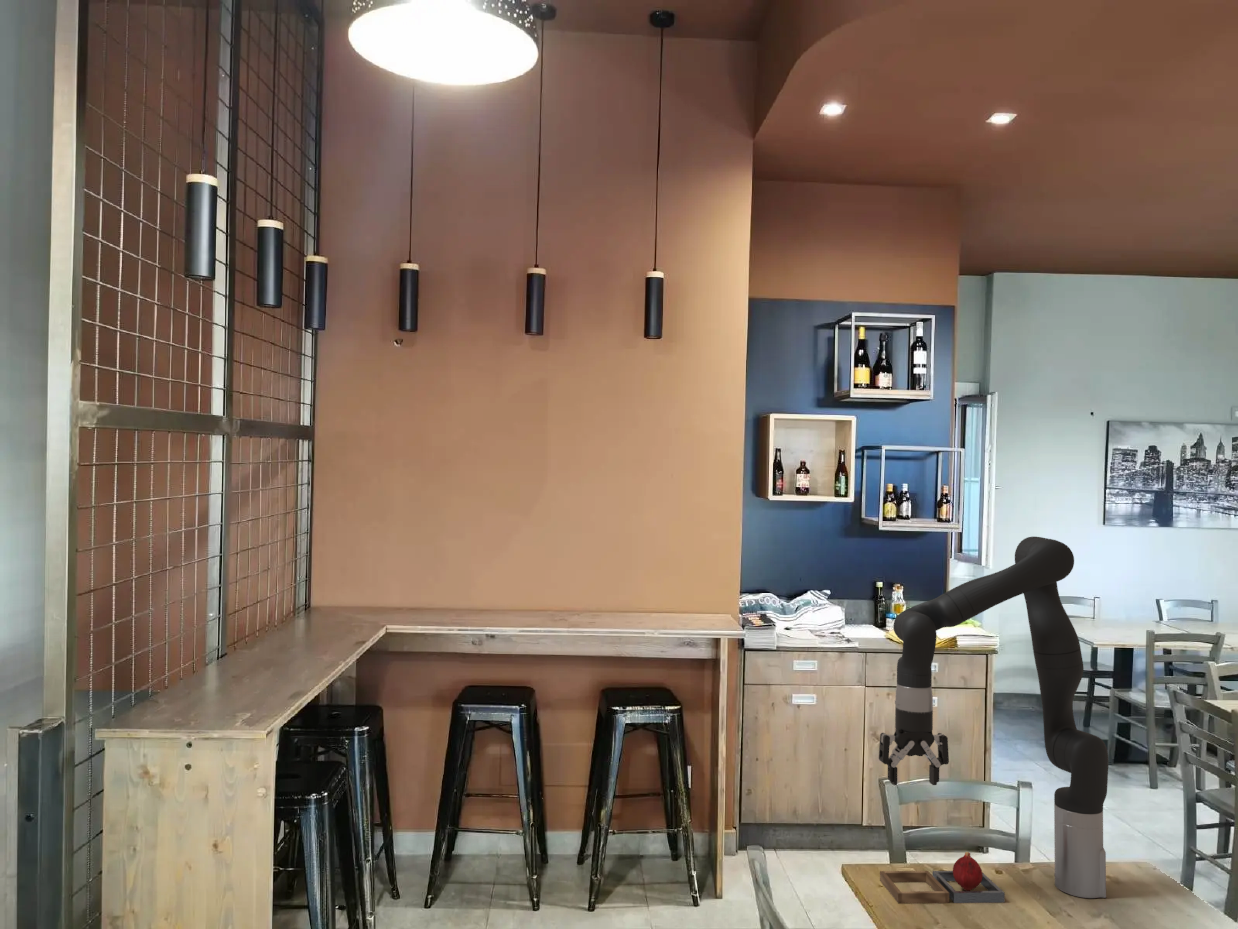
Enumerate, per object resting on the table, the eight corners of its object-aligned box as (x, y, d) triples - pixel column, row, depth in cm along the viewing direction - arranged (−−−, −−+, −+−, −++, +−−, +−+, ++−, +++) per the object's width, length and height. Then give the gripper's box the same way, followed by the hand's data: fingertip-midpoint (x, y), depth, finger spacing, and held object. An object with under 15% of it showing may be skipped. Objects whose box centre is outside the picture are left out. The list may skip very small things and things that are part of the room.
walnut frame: (928, 880, 188) (928, 871, 188) (949, 903, 177) (949, 893, 178) (879, 880, 187) (879, 871, 188) (898, 903, 177) (898, 893, 177)
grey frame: (980, 880, 189) (980, 870, 189) (1004, 902, 178) (1004, 892, 178) (932, 880, 188) (932, 871, 188) (953, 903, 177) (953, 893, 178)
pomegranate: (985, 898, 180) (985, 859, 180) (955, 895, 181) (955, 856, 181) (979, 886, 185) (979, 848, 186) (950, 884, 186) (950, 846, 187)
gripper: (887, 710, 180) (887, 790, 179) (954, 711, 181) (954, 790, 180) (874, 702, 187) (874, 778, 187) (938, 702, 188) (938, 778, 188)
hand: (913, 784), depth 183 cm, fingers open, 8 cm apart
